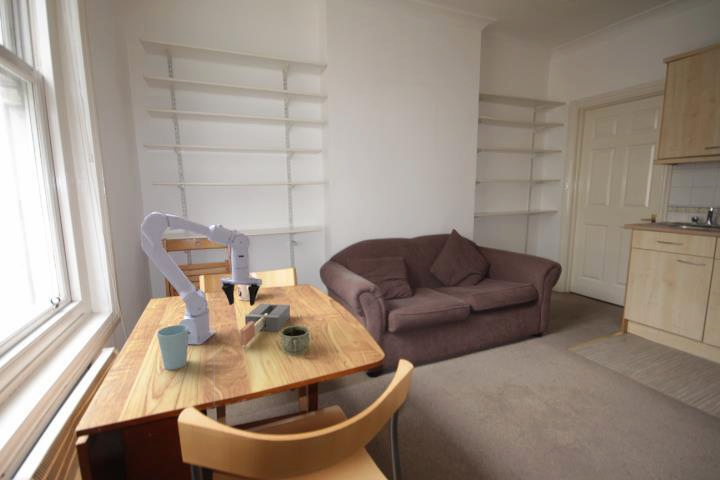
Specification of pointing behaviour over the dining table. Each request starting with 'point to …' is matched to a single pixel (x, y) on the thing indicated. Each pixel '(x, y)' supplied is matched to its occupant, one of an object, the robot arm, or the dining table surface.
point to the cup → (173, 346)
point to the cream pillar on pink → (251, 330)
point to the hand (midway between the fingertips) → (242, 304)
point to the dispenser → (270, 316)
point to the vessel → (294, 339)
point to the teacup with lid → (244, 292)
